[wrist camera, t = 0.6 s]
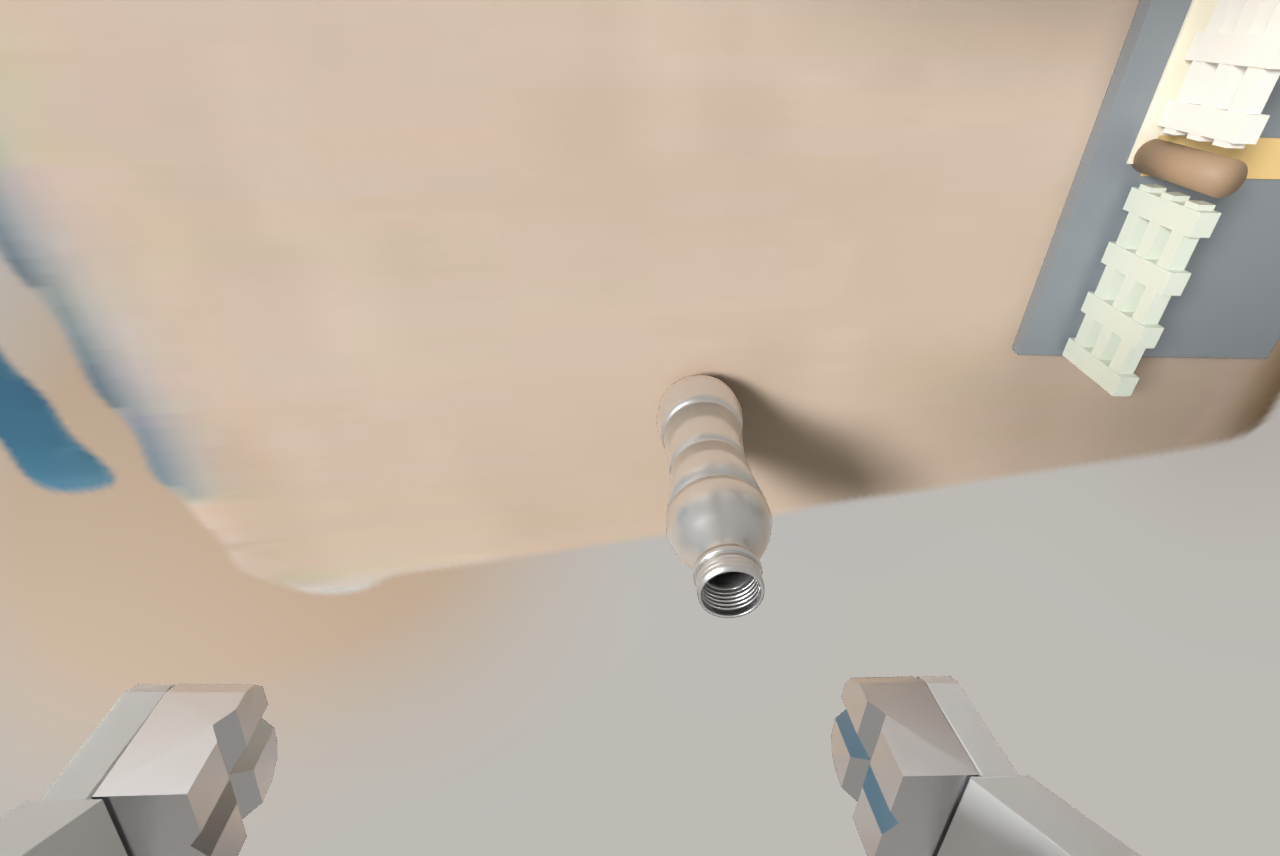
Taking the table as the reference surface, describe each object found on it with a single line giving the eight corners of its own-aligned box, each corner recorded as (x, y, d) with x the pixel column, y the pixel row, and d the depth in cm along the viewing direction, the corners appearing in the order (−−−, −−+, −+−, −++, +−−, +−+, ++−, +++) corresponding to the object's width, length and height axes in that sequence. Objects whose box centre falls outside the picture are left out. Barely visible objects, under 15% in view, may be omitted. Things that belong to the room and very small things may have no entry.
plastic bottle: (658, 440, 54) (674, 641, 37) (652, 367, 50) (666, 553, 33) (737, 434, 54) (789, 633, 37) (737, 359, 50) (795, 543, 33)
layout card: (1189, -134, 35) (1205, -138, 34) (1535, -120, 35) (1561, -124, 34) (1011, 348, 50) (1019, 355, 49) (1255, 352, 51) (1268, 359, 50)
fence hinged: (1133, 181, 42) (1203, 207, 37) (1152, 182, 42) (1224, 207, 37) (1061, 354, 49) (1112, 396, 44) (1077, 355, 49) (1130, 396, 44)
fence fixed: (1248, -128, 34) (1366, -152, 29) (1285, -126, 34) (1410, -150, 29) (1126, 171, 42) (1200, 197, 37) (1156, 172, 42) (1235, 198, 37)
